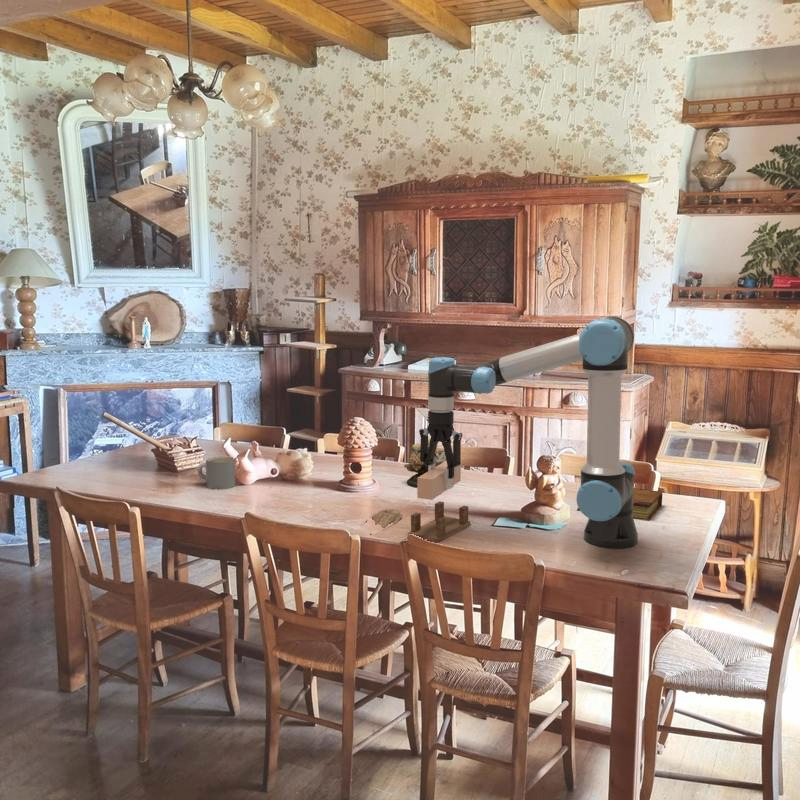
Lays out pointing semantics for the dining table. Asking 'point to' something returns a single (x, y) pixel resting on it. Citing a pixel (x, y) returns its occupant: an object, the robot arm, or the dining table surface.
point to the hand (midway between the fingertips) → (439, 487)
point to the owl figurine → (420, 466)
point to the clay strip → (435, 481)
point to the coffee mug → (218, 472)
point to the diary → (645, 503)
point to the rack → (439, 524)
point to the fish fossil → (386, 517)
